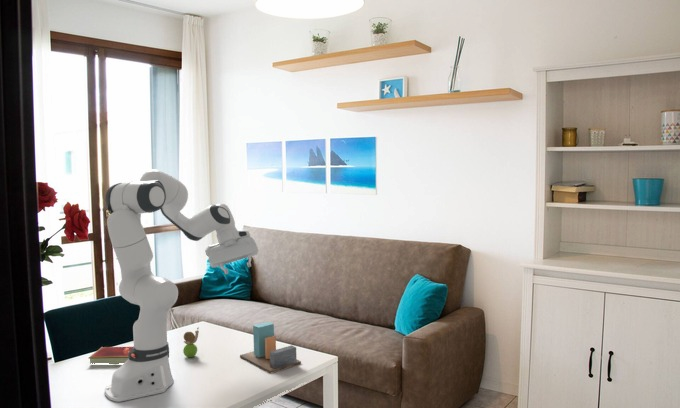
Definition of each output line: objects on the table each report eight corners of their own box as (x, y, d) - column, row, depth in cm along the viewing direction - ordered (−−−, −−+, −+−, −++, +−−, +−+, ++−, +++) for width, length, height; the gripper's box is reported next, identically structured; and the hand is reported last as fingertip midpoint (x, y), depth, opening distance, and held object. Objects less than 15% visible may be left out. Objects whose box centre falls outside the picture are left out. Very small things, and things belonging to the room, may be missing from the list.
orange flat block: (267, 359, 205) (266, 339, 205) (265, 358, 206) (264, 338, 206) (286, 353, 211) (285, 334, 210) (284, 352, 212) (283, 333, 211)
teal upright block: (261, 358, 206) (260, 328, 205) (254, 355, 210) (253, 325, 209) (276, 354, 210) (275, 324, 209) (269, 350, 215) (268, 321, 214)
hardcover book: (102, 356, 217) (102, 346, 217) (153, 355, 218) (153, 345, 217) (89, 367, 205) (88, 356, 205) (143, 366, 206) (142, 355, 205)
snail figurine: (197, 359, 211) (196, 329, 210) (181, 359, 211) (180, 329, 210) (201, 354, 216) (200, 325, 215) (186, 354, 216) (184, 325, 215)
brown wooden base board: (269, 373, 195) (269, 370, 195) (240, 357, 212) (239, 354, 212) (300, 363, 204) (300, 360, 204) (269, 349, 221) (269, 346, 221)
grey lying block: (274, 369, 196) (274, 353, 196) (270, 367, 198) (269, 351, 198) (296, 362, 203) (296, 347, 202) (292, 360, 205) (291, 345, 204)
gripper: (203, 244, 215) (211, 274, 209) (252, 230, 220) (262, 259, 214) (205, 250, 220) (213, 280, 214) (253, 236, 225) (262, 265, 219)
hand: (238, 269), depth 214 cm, fingers open, 8 cm apart
